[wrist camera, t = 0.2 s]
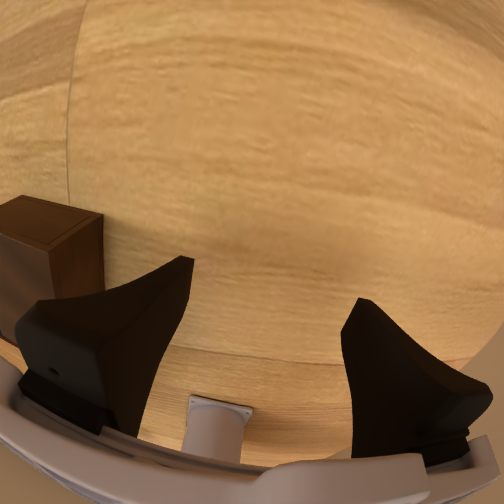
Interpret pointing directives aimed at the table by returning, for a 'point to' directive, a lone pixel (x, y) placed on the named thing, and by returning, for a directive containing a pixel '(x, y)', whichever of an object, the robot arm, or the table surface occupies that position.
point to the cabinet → (46, 256)
